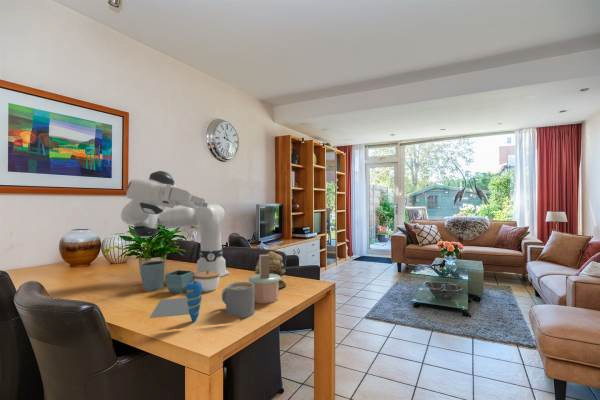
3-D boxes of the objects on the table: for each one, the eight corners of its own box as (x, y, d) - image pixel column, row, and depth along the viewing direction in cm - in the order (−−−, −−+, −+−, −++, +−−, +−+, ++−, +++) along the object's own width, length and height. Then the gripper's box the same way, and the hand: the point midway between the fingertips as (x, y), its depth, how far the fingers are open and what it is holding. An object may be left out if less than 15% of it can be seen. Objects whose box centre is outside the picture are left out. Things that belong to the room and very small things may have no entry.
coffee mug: (260, 312, 109) (259, 285, 109) (237, 321, 102) (237, 291, 102) (237, 304, 118) (237, 279, 118) (215, 311, 110) (214, 284, 111)
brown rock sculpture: (276, 282, 151) (276, 247, 152) (292, 286, 143) (292, 250, 143) (246, 289, 138) (246, 252, 138) (263, 295, 130) (263, 255, 130)
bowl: (249, 296, 128) (249, 277, 128) (275, 294, 131) (275, 275, 131) (252, 304, 117) (252, 284, 117) (280, 302, 120) (280, 282, 120)
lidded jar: (212, 295, 130) (212, 273, 130) (190, 294, 132) (190, 272, 132) (224, 288, 141) (223, 268, 141) (202, 287, 143) (202, 267, 143)
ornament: (182, 324, 99) (182, 278, 99) (195, 319, 104) (195, 275, 104) (192, 327, 96) (192, 280, 96) (205, 322, 101) (205, 277, 101)
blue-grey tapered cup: (165, 289, 140) (165, 263, 140) (140, 292, 135) (140, 265, 135) (163, 284, 148) (163, 259, 149) (140, 287, 143) (139, 262, 144)
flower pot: (164, 294, 131) (164, 274, 131) (178, 289, 140) (177, 269, 140) (181, 296, 129) (181, 275, 129) (194, 290, 137) (194, 270, 137)
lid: (247, 277, 129) (246, 253, 129) (277, 274, 132) (277, 252, 132) (250, 285, 116) (249, 259, 116) (283, 282, 120) (283, 257, 120)
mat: (160, 301, 122) (160, 299, 122) (201, 298, 126) (201, 296, 126) (149, 320, 103) (149, 318, 103) (198, 315, 107) (198, 313, 107)
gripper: (174, 208, 129) (207, 214, 131) (161, 199, 109) (200, 207, 111) (178, 193, 130) (210, 200, 132) (166, 182, 111) (204, 190, 113)
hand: (205, 203), depth 122 cm, fingers open, 8 cm apart
